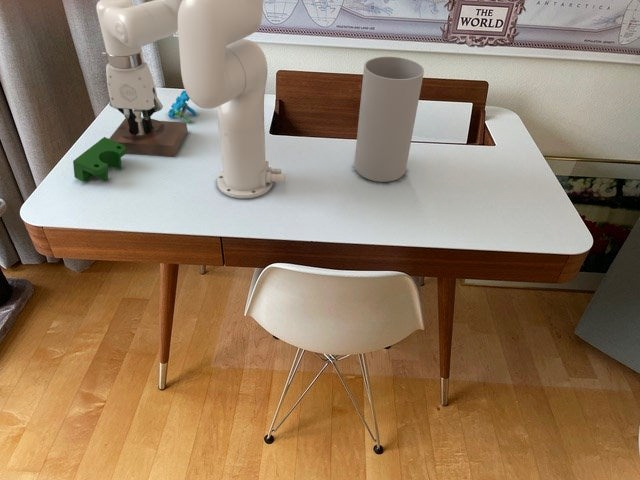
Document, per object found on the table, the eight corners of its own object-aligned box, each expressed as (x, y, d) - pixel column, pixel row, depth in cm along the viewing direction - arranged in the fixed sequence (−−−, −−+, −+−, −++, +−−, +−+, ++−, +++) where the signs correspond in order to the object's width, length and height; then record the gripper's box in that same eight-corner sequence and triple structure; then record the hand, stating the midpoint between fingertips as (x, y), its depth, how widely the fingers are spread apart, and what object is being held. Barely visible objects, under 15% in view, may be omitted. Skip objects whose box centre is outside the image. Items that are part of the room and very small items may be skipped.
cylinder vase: (388, 189, 112) (405, 85, 95) (343, 170, 117) (352, 68, 101) (414, 167, 120) (434, 67, 103) (371, 150, 125) (384, 52, 109)
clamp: (105, 197, 112) (93, 178, 104) (81, 187, 112) (68, 167, 104) (132, 157, 117) (123, 135, 109) (109, 148, 117) (99, 125, 109)
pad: (188, 131, 128) (187, 121, 126) (174, 156, 119) (172, 145, 117) (128, 127, 129) (126, 116, 127) (109, 152, 119) (106, 141, 117)
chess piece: (154, 142, 123) (147, 105, 117) (134, 145, 122) (125, 108, 115) (152, 133, 127) (144, 97, 120) (132, 136, 125) (123, 99, 119)
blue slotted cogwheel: (170, 100, 138) (191, 78, 133) (187, 113, 141) (209, 92, 136) (161, 123, 131) (184, 101, 125) (180, 136, 134) (202, 116, 129)
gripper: (83, 62, 108) (104, 136, 120) (156, 67, 108) (169, 141, 120) (97, 50, 114) (115, 122, 126) (166, 54, 113) (177, 126, 125)
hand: (141, 130), depth 123 cm, fingers closed
